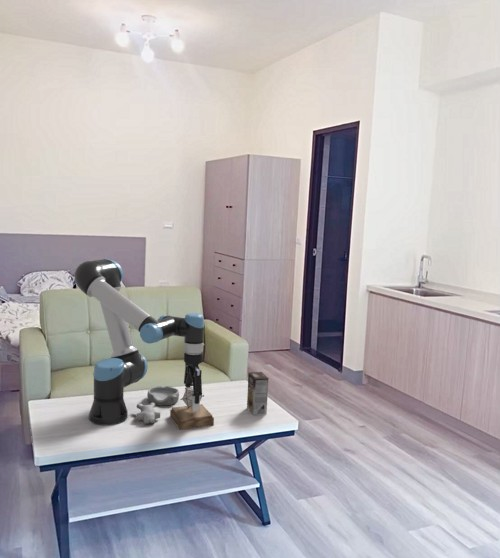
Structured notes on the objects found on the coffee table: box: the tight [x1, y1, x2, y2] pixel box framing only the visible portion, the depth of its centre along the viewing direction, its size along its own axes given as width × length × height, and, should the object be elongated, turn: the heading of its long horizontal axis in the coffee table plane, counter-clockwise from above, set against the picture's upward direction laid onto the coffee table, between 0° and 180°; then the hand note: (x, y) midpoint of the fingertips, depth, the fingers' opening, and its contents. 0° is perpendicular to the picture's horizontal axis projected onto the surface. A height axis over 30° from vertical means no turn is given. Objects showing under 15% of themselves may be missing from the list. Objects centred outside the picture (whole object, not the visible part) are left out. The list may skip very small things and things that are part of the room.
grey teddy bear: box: [135, 402, 161, 424], centre depth 220 cm, size 10×5×15 cm
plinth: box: [169, 403, 215, 430], centre depth 219 cm, size 14×14×4 cm
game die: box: [180, 387, 205, 409], centre depth 218 cm, size 9×8×10 cm
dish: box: [146, 385, 180, 406], centre depth 240 cm, size 14×14×5 cm
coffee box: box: [246, 371, 269, 416], centre depth 232 cm, size 9×6×16 cm
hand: (192, 406), depth 218 cm, fingers closed on game die, 9 cm apart
